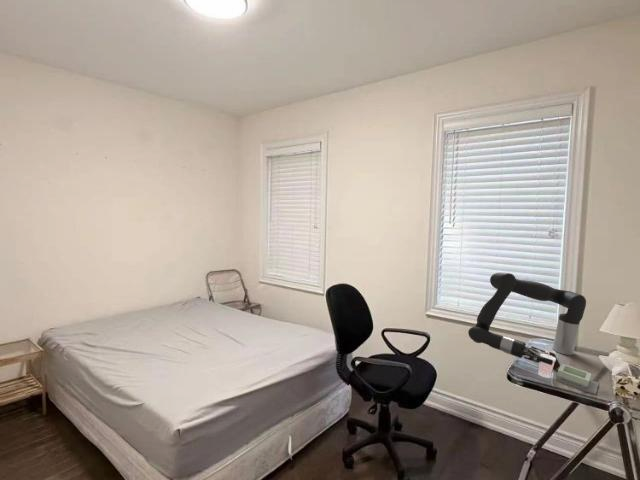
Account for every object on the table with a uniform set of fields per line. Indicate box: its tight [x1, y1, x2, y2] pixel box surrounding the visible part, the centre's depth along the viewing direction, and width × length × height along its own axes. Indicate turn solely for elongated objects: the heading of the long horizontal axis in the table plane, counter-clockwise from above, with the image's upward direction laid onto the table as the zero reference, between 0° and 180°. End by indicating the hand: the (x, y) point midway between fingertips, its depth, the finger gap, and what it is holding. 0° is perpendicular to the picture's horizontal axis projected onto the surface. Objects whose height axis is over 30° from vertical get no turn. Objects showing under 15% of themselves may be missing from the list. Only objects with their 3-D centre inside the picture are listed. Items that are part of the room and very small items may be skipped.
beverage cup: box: [538, 345, 557, 379], centre depth 154 cm, size 6×6×14 cm
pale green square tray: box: [555, 363, 599, 396], centre depth 151 cm, size 14×14×4 cm
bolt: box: [546, 351, 561, 371], centre depth 169 cm, size 6×5×15 cm
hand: (553, 360), depth 152 cm, fingers closed on beverage cup, 6 cm apart
